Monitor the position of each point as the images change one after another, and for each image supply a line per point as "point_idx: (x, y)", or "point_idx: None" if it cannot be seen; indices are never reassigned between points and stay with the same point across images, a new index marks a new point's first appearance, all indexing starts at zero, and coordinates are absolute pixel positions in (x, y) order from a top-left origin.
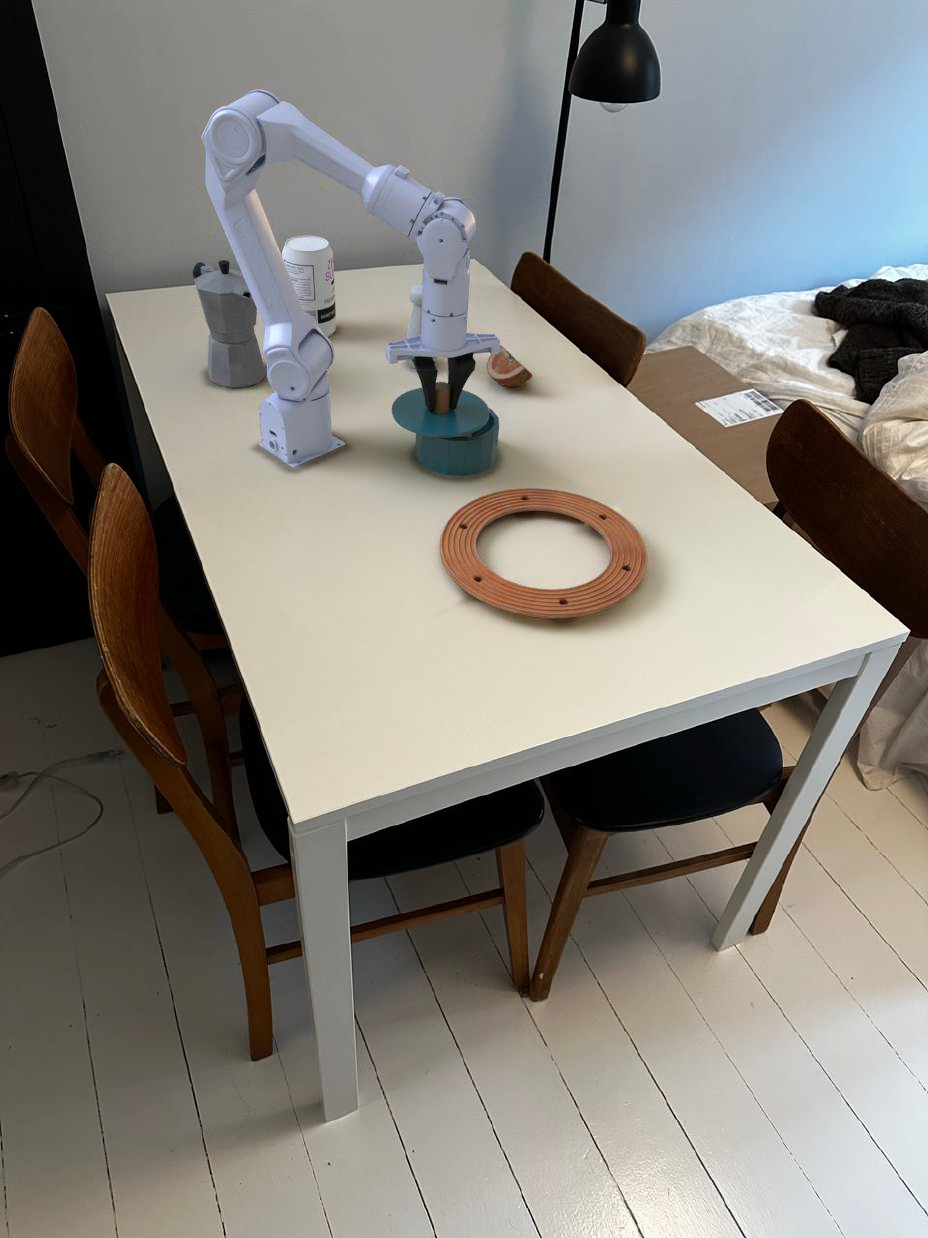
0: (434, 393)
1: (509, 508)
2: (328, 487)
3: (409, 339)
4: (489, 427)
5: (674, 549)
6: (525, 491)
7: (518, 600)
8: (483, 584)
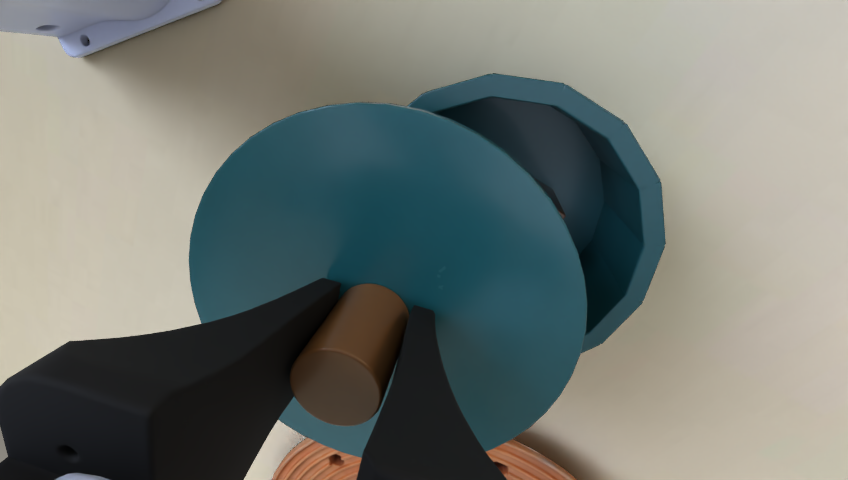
0: (280, 412)
1: None
2: (151, 171)
3: None
4: (617, 246)
5: None
6: (513, 458)
7: None
8: None
